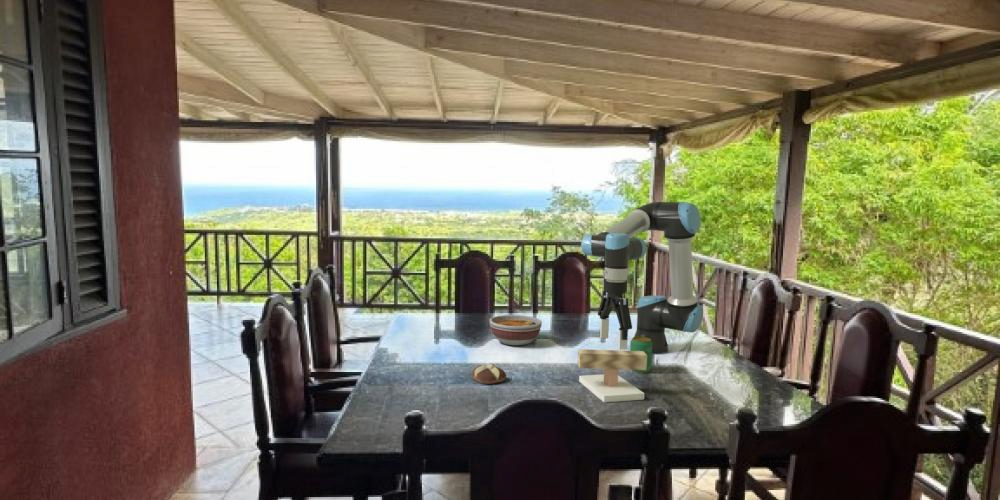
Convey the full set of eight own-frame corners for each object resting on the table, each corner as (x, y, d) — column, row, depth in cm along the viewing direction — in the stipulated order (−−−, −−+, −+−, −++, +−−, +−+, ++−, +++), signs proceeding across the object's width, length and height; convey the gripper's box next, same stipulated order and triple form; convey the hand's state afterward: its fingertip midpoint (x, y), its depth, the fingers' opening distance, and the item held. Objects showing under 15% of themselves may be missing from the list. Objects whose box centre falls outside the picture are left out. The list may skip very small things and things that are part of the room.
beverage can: (636, 365, 212) (637, 335, 211) (654, 370, 206) (656, 339, 205) (624, 369, 206) (626, 338, 205) (643, 375, 201) (645, 343, 200)
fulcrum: (615, 379, 195) (616, 357, 194) (644, 399, 176) (645, 375, 175) (579, 381, 191) (580, 359, 191) (604, 402, 172) (605, 377, 171)
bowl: (550, 341, 244) (550, 319, 243) (524, 353, 225) (525, 329, 224) (506, 333, 256) (507, 312, 255) (478, 343, 237) (479, 321, 236)
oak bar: (579, 368, 180) (580, 353, 180) (577, 363, 185) (578, 349, 185) (646, 370, 180) (647, 355, 180) (642, 365, 185) (643, 351, 185)
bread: (468, 376, 194) (468, 363, 193) (497, 373, 198) (498, 360, 198) (479, 387, 183) (479, 372, 183) (510, 383, 188) (510, 369, 187)
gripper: (589, 274, 191) (587, 334, 193) (623, 287, 167) (620, 354, 169) (609, 274, 193) (606, 333, 195) (645, 286, 169) (642, 353, 171)
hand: (613, 343), depth 182 cm, fingers open, 13 cm apart
